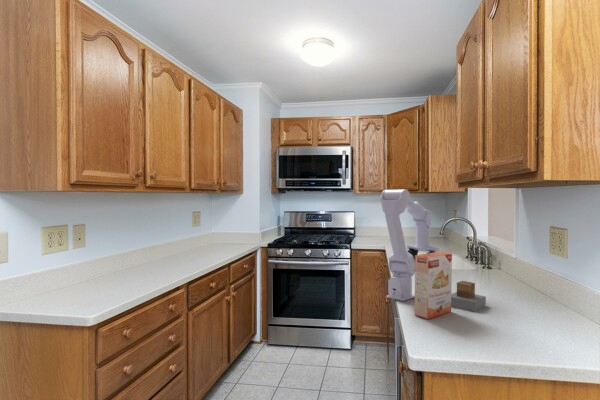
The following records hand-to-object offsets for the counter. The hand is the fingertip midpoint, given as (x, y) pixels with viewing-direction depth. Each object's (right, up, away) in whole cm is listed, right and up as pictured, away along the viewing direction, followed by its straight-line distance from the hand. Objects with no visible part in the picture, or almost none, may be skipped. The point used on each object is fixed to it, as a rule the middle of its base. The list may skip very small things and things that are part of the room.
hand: (422, 267), depth 159 cm
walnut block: (+8, -6, -25) cm, 27 cm away
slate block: (+8, -10, -25) cm, 28 cm away
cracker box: (-8, -10, -34) cm, 36 cm away
